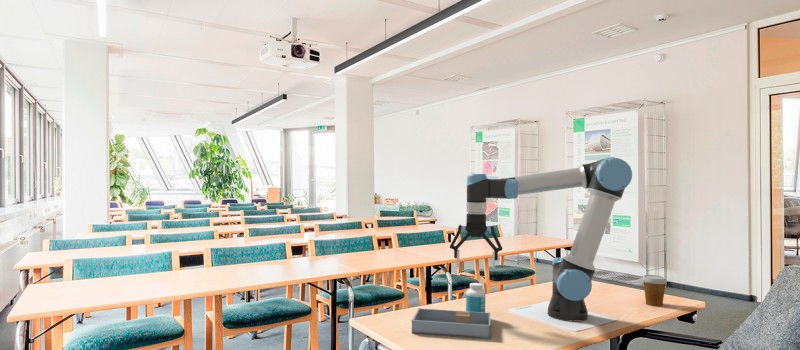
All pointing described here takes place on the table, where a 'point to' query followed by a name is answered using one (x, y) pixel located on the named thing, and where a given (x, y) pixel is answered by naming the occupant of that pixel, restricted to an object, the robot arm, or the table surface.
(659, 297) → the disposable coffee cup
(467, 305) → the pill bottle
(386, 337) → the table surface
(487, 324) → the tote
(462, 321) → the walnut cube
